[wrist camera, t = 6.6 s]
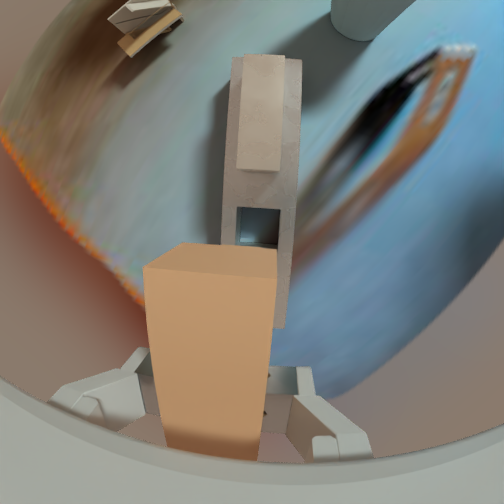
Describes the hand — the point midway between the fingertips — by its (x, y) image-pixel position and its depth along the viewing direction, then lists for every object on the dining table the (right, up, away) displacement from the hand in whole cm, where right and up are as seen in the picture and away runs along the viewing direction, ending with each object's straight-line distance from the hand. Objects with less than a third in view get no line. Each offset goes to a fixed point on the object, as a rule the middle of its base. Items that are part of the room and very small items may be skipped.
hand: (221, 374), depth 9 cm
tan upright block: (0, +1, +5) cm, 5 cm away
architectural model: (-9, +29, +14) cm, 33 cm away
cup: (+12, +29, +12) cm, 33 cm away
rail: (+2, +10, +17) cm, 20 cm away
